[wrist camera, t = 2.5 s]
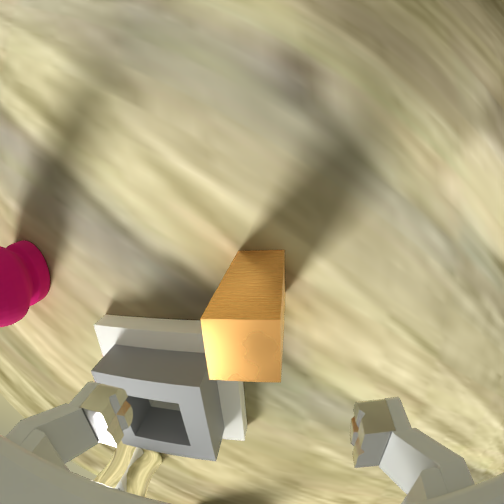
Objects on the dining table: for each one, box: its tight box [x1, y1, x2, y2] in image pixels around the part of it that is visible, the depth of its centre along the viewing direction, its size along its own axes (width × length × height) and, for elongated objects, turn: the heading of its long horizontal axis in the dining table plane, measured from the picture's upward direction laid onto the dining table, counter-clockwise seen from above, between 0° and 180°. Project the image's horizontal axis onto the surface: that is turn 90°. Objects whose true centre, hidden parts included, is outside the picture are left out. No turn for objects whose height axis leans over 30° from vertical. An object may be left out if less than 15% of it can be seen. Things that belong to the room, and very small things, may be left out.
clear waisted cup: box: [93, 441, 162, 497], centre depth 23 cm, size 7×7×15 cm
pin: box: [200, 250, 285, 382], centre depth 17 cm, size 3×3×10 cm
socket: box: [91, 314, 247, 461], centre depth 23 cm, size 12×12×6 cm
